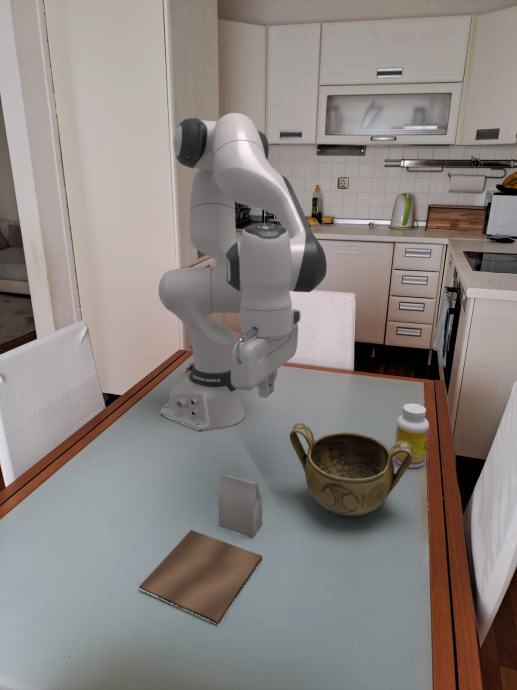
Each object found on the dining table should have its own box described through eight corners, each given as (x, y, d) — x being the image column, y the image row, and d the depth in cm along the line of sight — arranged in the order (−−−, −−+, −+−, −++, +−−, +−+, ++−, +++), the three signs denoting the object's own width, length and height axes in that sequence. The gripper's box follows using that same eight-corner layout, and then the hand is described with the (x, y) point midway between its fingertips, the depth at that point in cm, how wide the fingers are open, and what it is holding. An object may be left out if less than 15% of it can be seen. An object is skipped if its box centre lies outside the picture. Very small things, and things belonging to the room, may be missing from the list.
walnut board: (139, 590, 76) (139, 586, 75) (191, 533, 87) (191, 529, 87) (217, 625, 70) (217, 621, 69) (262, 559, 81) (262, 555, 81)
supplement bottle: (426, 470, 105) (433, 416, 101) (394, 467, 106) (399, 414, 102) (423, 454, 111) (429, 402, 107) (392, 451, 112) (397, 400, 108)
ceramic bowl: (278, 517, 91) (278, 446, 86) (301, 468, 106) (303, 405, 101) (402, 545, 84) (411, 470, 79) (409, 488, 99) (416, 421, 94)
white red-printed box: (253, 538, 86) (252, 490, 83) (219, 527, 89) (217, 480, 85) (262, 525, 89) (261, 478, 86) (229, 515, 92) (227, 469, 89)
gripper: (255, 340, 75) (256, 421, 79) (304, 309, 92) (302, 378, 97) (219, 335, 78) (222, 414, 82) (273, 306, 95) (273, 373, 100)
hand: (266, 394), depth 90 cm, fingers closed
